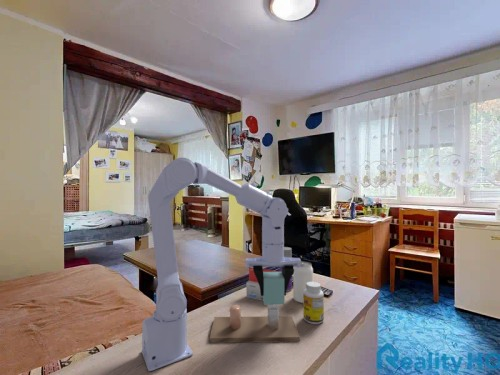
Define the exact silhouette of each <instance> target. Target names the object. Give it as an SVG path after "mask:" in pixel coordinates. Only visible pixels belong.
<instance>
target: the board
mask: <svg viewBox="0 0 500 375" xmlns="http://www.w3.org/2000/svg"><path fill="white" fill-rule="evenodd" d="M300 338H301V336H300V334H299V331H298V328H297V326H296V323H295V321H294V318H293V316H291V315H290V316H289V315H283V316H282V315H281V316H280V315H279V329H268V315H267V316H265V315H264V316H241V327H240V328H239V329H236V330H234V329H231V328H230V316H215V317H214V318H213V322H212V326H211V332H210V335H209V343H248V342H249V343H253V342H254V343H255V342H256V343H258V342H261V343H262V342H266V343H267V342H270V343H271V342H300V340H301V339H300Z"/></svg>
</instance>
